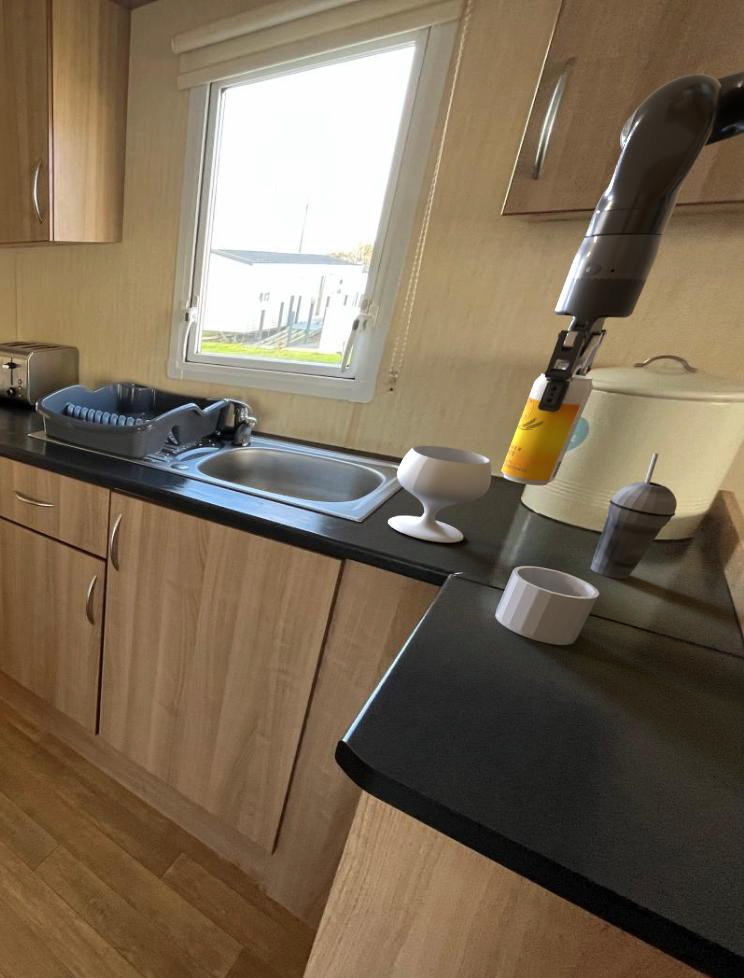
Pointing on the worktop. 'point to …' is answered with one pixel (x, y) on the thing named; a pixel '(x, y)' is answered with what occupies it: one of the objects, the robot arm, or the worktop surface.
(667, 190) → the robot arm
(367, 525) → the worktop surface
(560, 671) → the worktop surface
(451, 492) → the chalice
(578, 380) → the beer can
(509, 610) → the can holder
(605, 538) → the beverage cup
